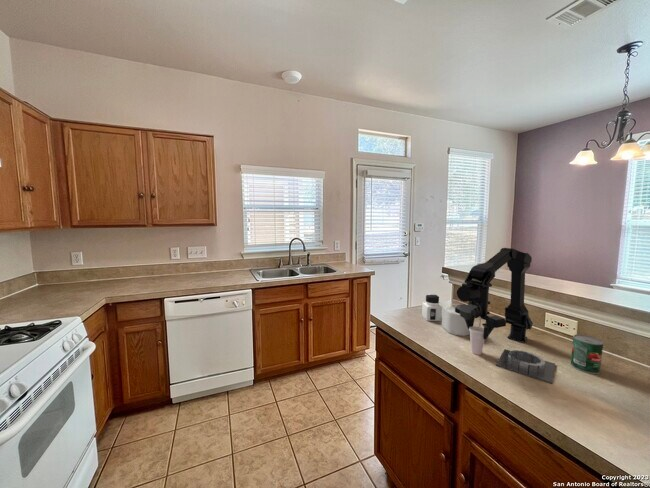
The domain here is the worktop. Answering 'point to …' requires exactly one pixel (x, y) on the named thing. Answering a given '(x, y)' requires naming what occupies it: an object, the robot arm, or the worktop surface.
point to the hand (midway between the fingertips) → (477, 335)
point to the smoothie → (477, 339)
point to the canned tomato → (586, 354)
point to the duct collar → (527, 365)
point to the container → (432, 308)
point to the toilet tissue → (454, 322)
